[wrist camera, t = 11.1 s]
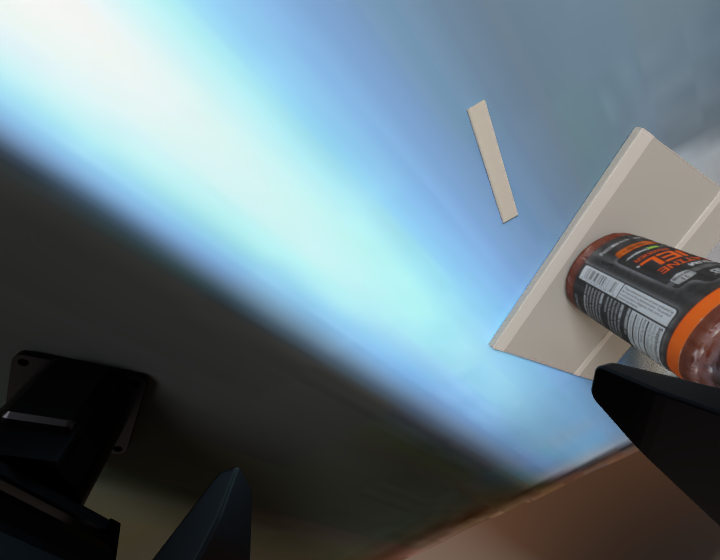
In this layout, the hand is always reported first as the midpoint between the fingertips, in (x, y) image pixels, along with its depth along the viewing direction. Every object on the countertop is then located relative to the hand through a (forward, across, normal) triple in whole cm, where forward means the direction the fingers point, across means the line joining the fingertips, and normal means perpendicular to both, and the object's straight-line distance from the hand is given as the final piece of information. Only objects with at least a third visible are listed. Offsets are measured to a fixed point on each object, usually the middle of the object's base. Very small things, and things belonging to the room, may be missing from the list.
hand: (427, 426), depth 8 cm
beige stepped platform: (+13, +18, -7) cm, 24 cm away
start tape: (+13, +9, +3) cm, 16 cm away
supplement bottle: (+13, +17, -6) cm, 22 cm away
